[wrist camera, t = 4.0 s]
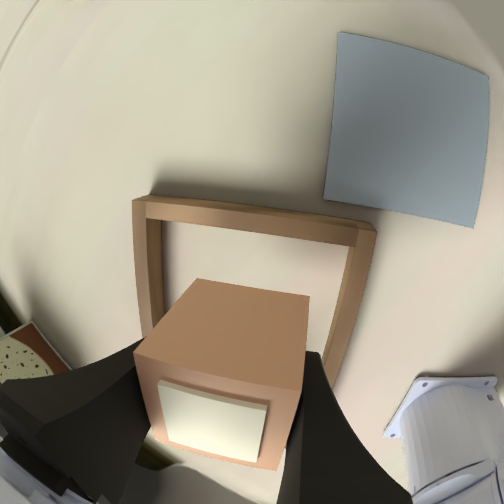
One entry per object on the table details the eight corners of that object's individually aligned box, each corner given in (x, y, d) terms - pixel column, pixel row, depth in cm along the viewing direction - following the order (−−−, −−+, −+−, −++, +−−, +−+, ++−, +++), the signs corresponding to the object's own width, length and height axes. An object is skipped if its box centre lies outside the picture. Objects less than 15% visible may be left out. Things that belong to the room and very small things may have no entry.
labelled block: (309, 296, 11) (300, 396, 6) (292, 380, 13) (275, 475, 8) (197, 278, 12) (129, 356, 7) (198, 361, 13) (153, 443, 9)
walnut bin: (370, 222, 16) (377, 232, 14) (307, 434, 23) (306, 451, 22) (148, 194, 18) (132, 200, 17) (165, 403, 26) (157, 417, 24)
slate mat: (486, 77, 11) (489, 76, 11) (470, 226, 15) (473, 228, 14) (337, 34, 13) (338, 31, 12) (323, 198, 16) (323, 198, 16)
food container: (16, 329, 29) (-32, 367, 20) (25, 309, 27) (-32, 352, 17) (75, 399, 31) (35, 446, 21) (91, 389, 28) (45, 444, 19)
